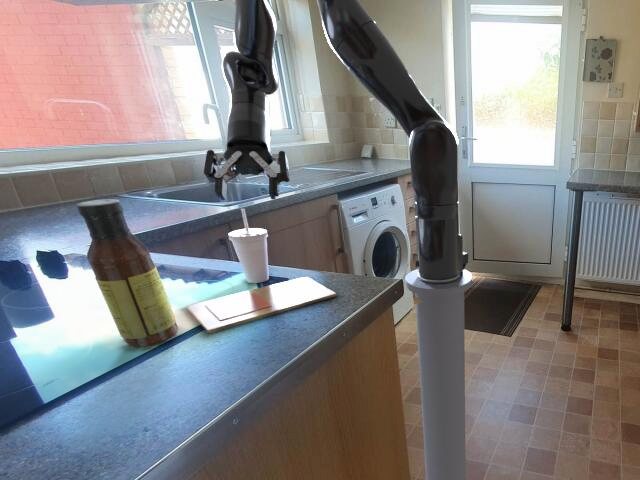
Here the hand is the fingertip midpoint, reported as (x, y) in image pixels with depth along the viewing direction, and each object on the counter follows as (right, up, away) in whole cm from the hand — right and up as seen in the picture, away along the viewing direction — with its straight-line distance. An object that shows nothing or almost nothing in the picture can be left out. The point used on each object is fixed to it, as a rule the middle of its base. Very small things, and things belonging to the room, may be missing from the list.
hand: (247, 197), depth 79 cm
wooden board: (+8, -20, -8) cm, 23 cm away
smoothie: (+1, -16, +2) cm, 16 cm away
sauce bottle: (-1, -25, -20) cm, 32 cm away
